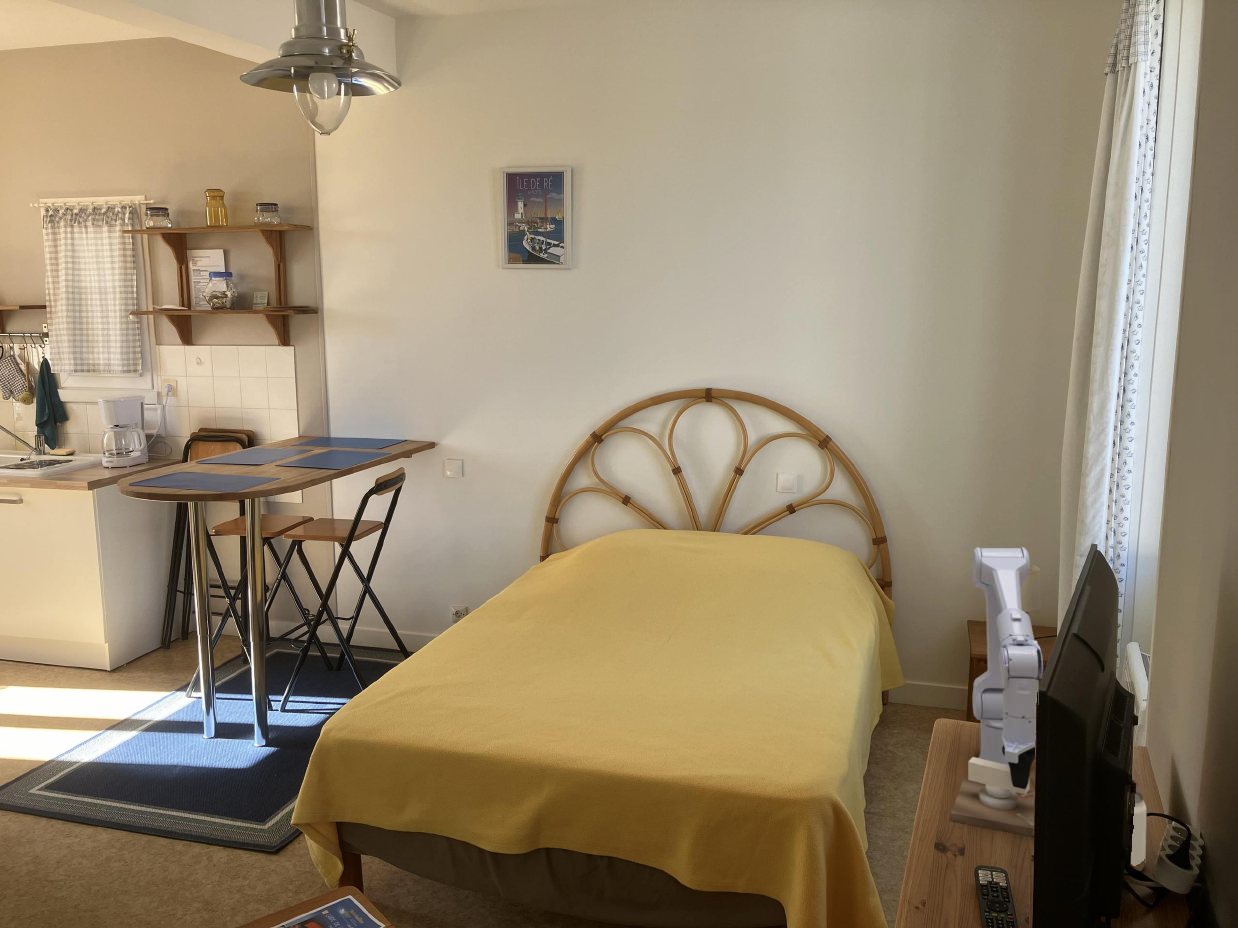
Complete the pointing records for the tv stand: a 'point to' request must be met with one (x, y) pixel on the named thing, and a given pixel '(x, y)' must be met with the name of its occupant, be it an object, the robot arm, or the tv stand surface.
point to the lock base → (994, 809)
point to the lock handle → (993, 777)
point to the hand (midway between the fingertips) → (1020, 786)
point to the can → (1139, 830)
